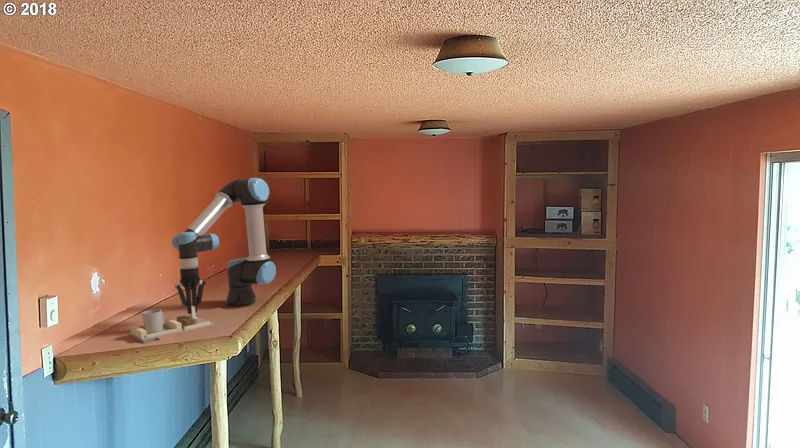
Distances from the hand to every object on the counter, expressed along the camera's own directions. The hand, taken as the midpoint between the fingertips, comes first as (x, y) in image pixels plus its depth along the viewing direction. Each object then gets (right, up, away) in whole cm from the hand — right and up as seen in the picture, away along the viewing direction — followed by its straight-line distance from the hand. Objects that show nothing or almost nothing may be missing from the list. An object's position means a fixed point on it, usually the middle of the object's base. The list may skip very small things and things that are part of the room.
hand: (193, 320), depth 232 cm
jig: (-6, -4, -6) cm, 9 cm away
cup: (-12, -3, -10) cm, 16 cm away
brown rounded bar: (-2, -2, -2) cm, 3 cm away
